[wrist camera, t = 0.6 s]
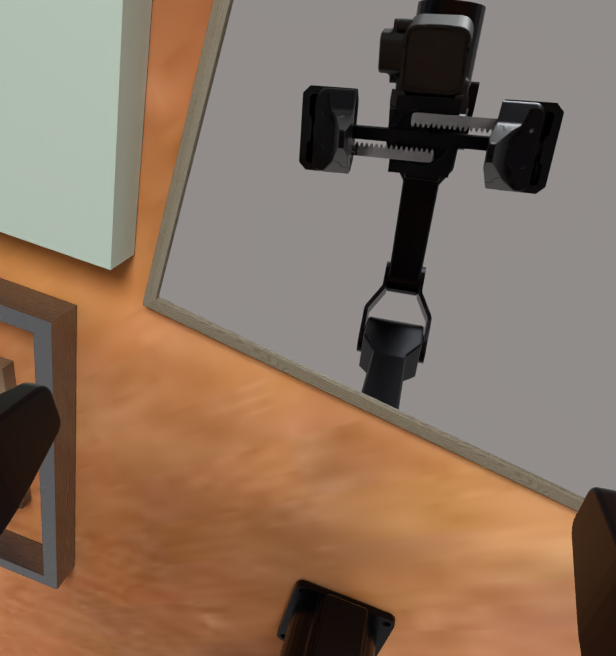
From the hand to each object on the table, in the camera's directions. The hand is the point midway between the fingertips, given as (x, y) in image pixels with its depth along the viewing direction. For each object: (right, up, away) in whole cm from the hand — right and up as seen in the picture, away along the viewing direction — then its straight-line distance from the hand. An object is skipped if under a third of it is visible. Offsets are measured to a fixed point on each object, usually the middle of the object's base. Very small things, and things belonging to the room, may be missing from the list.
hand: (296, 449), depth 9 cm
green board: (-12, +12, +14) cm, 22 cm away
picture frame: (+8, +5, +13) cm, 16 cm away
